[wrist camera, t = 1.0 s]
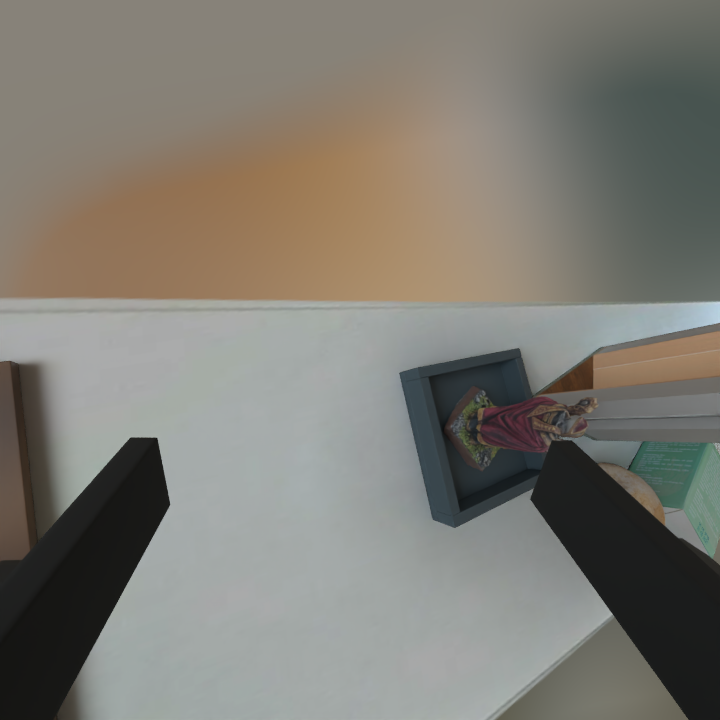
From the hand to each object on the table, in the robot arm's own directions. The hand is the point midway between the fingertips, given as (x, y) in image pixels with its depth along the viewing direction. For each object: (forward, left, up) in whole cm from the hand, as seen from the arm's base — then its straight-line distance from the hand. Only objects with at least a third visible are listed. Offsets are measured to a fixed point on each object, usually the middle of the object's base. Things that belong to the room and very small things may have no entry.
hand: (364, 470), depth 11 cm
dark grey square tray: (+3, +20, -16) cm, 26 cm away
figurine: (+3, +20, -16) cm, 26 cm away
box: (+18, +48, -17) cm, 54 cm away
